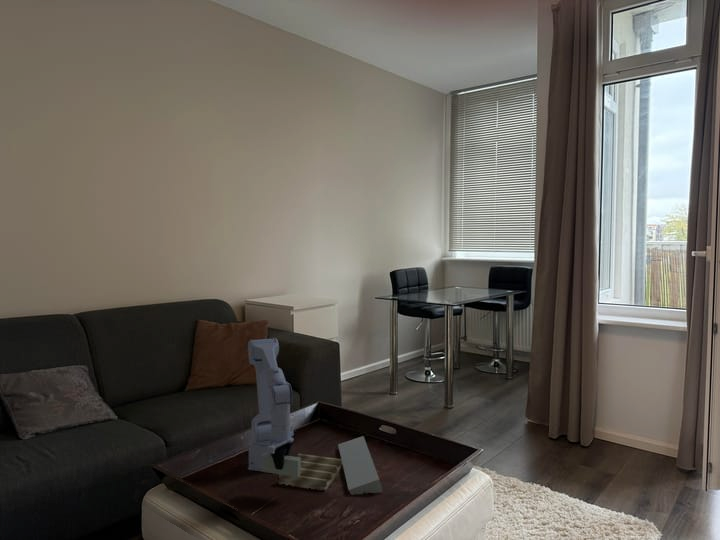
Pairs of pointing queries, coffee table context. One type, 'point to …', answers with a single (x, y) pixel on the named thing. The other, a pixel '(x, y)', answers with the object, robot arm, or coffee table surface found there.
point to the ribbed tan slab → (314, 472)
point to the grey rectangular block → (359, 467)
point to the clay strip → (289, 467)
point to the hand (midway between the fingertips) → (281, 466)
